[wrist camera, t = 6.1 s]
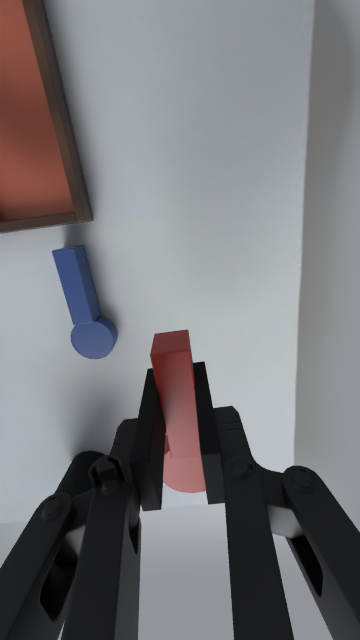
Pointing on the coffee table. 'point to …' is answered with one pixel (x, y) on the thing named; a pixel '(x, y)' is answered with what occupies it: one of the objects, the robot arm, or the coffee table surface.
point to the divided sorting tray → (35, 127)
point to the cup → (78, 474)
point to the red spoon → (178, 410)
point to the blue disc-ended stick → (83, 304)
